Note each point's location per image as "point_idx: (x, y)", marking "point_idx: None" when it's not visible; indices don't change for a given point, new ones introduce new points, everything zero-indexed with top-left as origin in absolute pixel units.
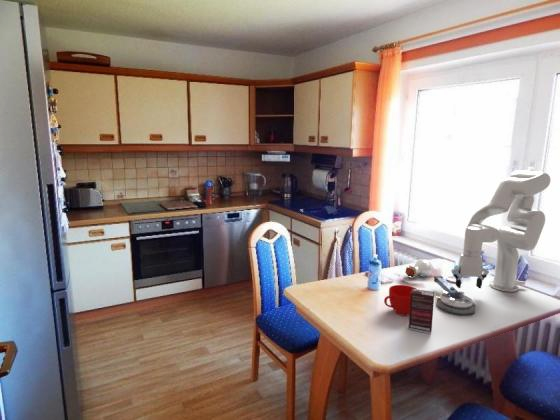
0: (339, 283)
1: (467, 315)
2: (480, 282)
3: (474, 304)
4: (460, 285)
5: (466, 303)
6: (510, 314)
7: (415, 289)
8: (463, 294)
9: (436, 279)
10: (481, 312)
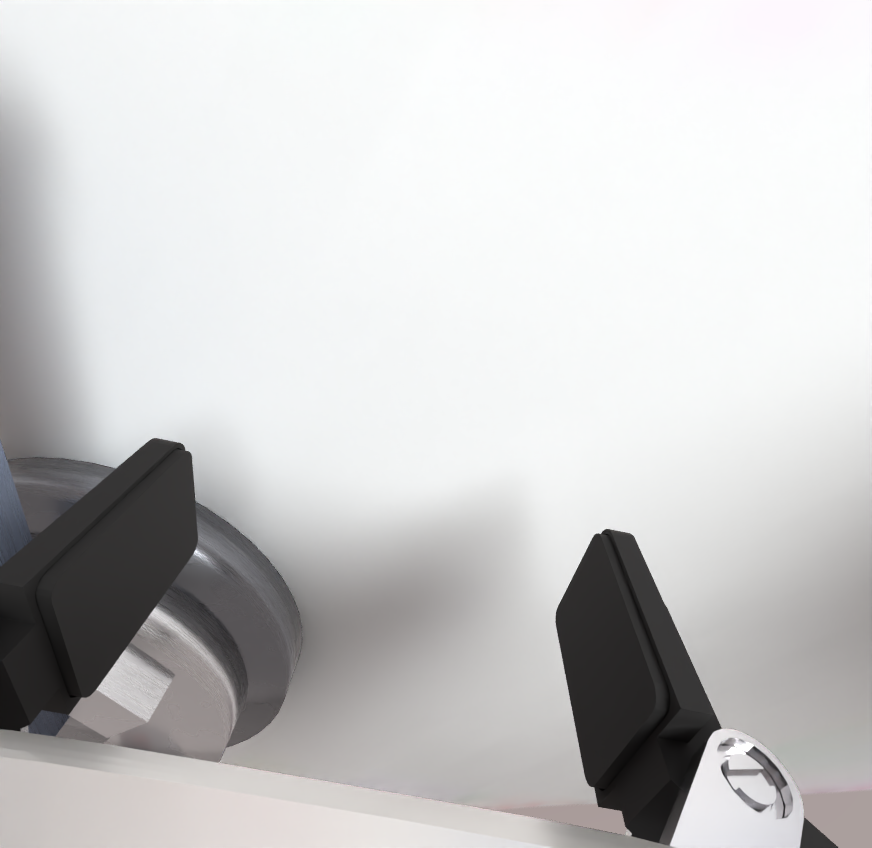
0: None
1: None
2: (584, 751)
3: (279, 699)
4: (164, 586)
5: None
6: (538, 758)
7: None
8: (148, 702)
9: None
10: (322, 702)
